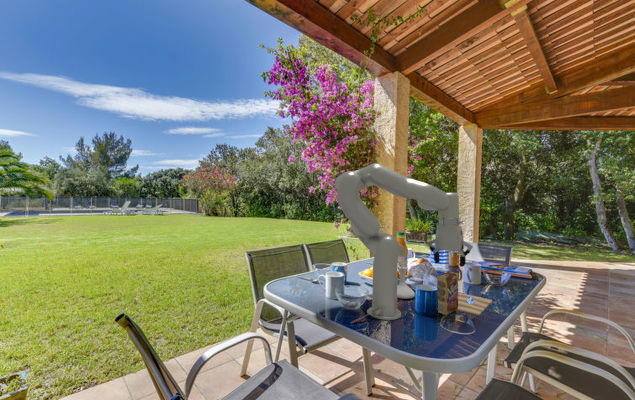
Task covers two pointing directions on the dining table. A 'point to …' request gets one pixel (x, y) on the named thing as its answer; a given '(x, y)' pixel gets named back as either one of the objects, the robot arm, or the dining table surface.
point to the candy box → (447, 292)
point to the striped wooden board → (472, 308)
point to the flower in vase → (403, 278)
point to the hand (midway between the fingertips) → (449, 264)
